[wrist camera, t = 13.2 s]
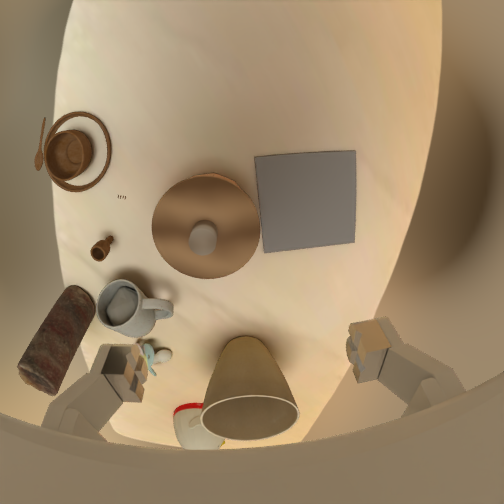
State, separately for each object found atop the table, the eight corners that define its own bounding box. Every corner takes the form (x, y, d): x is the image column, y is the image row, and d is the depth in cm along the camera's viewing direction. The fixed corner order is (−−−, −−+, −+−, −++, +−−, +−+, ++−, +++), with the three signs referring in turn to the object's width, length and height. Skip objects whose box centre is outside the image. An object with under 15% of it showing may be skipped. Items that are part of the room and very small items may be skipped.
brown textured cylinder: (104, 304, 46) (61, 390, 28) (89, 324, 48) (49, 404, 30) (72, 277, 43) (15, 356, 26) (59, 300, 45) (9, 375, 28)
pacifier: (130, 336, 48) (145, 357, 45) (159, 326, 53) (175, 345, 49) (135, 362, 52) (149, 383, 48) (160, 352, 56) (176, 370, 52)
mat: (254, 156, 37) (254, 157, 36) (354, 150, 37) (355, 151, 36) (264, 251, 43) (264, 253, 43) (353, 241, 43) (354, 242, 43)
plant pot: (220, 379, 56) (219, 445, 42) (194, 329, 49) (184, 403, 35) (291, 365, 55) (304, 432, 41) (277, 311, 48) (292, 386, 34)
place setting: (140, 116, 34) (124, 117, 29) (123, 247, 42) (110, 265, 37) (42, 109, 31) (20, 112, 26) (37, 227, 39) (18, 241, 34)
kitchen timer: (225, 431, 67) (225, 478, 53) (174, 425, 65) (169, 472, 52) (232, 405, 61) (233, 461, 47) (173, 399, 59) (166, 453, 46)
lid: (145, 183, 32) (132, 194, 28) (253, 167, 32) (256, 176, 28) (167, 277, 38) (160, 297, 34) (263, 266, 38) (267, 286, 34)
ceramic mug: (131, 294, 47) (113, 333, 44) (109, 272, 40) (87, 317, 37) (183, 312, 45) (165, 356, 41) (165, 292, 38) (143, 343, 34)
